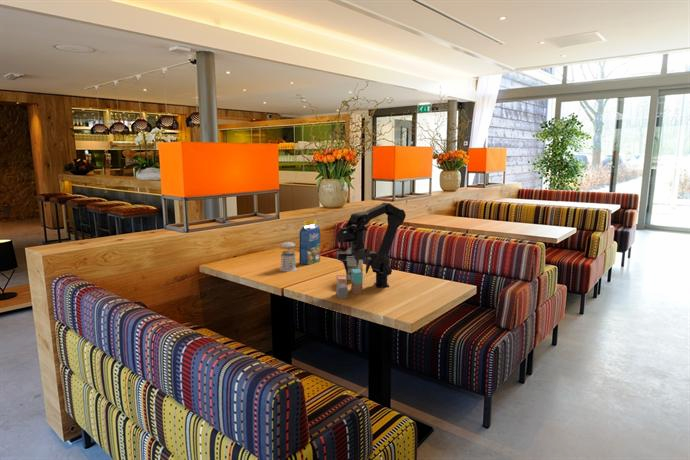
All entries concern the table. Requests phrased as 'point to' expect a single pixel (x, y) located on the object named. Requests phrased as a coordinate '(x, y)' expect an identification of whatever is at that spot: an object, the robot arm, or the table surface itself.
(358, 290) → the walnut brick
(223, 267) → the table surface
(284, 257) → the french press
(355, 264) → the coffee box
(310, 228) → the blue food package
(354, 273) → the teal brick
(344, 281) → the terracotta brick
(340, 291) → the charcoal brick
